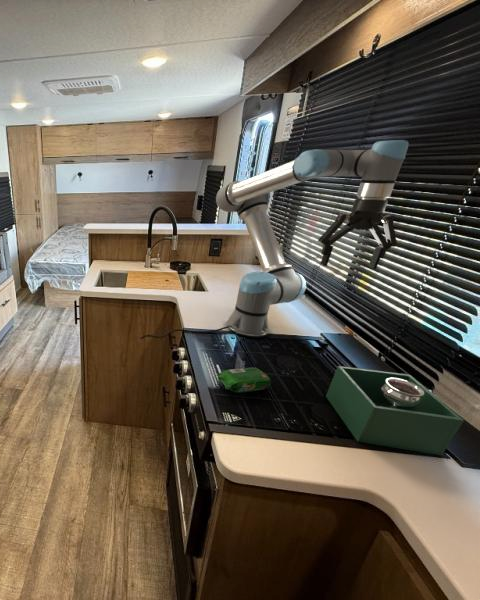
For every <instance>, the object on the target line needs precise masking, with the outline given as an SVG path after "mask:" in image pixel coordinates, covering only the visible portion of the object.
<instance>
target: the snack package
mask: <svg viewBox="0 0 480 600" xmlns="http://www.w3.org/2000/svg"><path fill="white" fill-rule="evenodd" d="M217 379H218V381H220V382H222V384H223V385H224V390H226V391H231V392H233V393H240V394H241V393H249V392H256V391H263V390H265V389H267V388H269V387H270V386H271V384H272V380H271V378H270V377H269V376H268V374H266V373H265V372H263V371H262V370H260V369H259V368H257V367H254V366H253V367H243V368H231V369H226V370H224V371H222V372H220V373H219V375H217Z"/></svg>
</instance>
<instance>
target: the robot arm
mask: <svg viewBox="0 0 480 600" xmlns="http://www.w3.org/2000/svg"><path fill="white" fill-rule="evenodd" d="M409 145H410V144H409V141H408V140H405V139H394V140H393V139H391V140H380V141H376V142H374V143H373V145H372V147H371V148H370V149H368V148H367V149H320V148H319V149H317V148H315V149H309V150H305V151H303V152H301V153H300V154H299V155H298V156H297V157H296V158H295V159H293V160H291V161H288V162H286V163H283V164H281V165H279V166H276V167H273V168H271V169H268V170H266V171H263V172H261V173H258V174H255V175H254V176H251V177H248V178H246V179H244V180H242V181H240V180H235V181H232V182H229V183H227V184H225V185H223V186H222V187H221V188H220V189H218V191H217V193H216V196H215V203H216V205H217V207H218V208H219V209H220V210H221V211H223V212H227V213H236V214H237V216H238V219H239V220H241V221H244V224H245V227H246V229H247V232H248V235H249V238H250V239H251V243H252V246H253V248H254V251H255V255H256V254H257V256H256V257H257V259H258V262H259V264H260V267H261V270H263V271H262V272H259V271H251V272H249V273H246V274H244V275H243V276H242V278H241V281H240V283H239V287H238V292H237V297H236V303H235V307H234V310H233V311H232V313H230V316H229V317H228V319H227V321H226V326H224V327H220V328H218V329H212V330H190V329H182V328H179V329H178V328H176V329H172V330H169V331H168V332H167V333H165V334H162V335H154V334H144V335H142V336H141V337H140V338H139V339H140V340H143V339H144V338H147V337H148V338H149V337H150V338H156V339H161V338H165V337H166V336H168V335H169V334H171V333H174V332H186V333H191V334H208V333H214V332H215V333H216V332H219V331H223V330H226V329H228V330H229V331H231V332H232V333H233V334H235V335H239V336H241V337H245V338H249V339H261V338H265V337H267V336H268V334H269V329H270V327H269V319H268V313H269V310H270V306H272V305H278V304H286V303H287V304H288V303H291V302H294V301H297V300H299V299H300V298H302V297H303V295H304V294H305V292H306V289H307V283H306V279H305V277H304V276H303V275H302V274H300V273H299V272H295V270H294V268H293V265H292V264H288V263H287V262H286V260H285V257H283V256H284V254H282V253H283V251H282V252H281V249H280V247H279V245H280V243H279V242H278V239H277V237H276V234H275V232H274V229H273V226H272V223H271V221H270V219H269V216H268V214H267V212H268V209H269V203H270V199H271V193H272V192H276V191H278V190H282V189H284V188H287V187H291V186H293V185H296V184H299V183H300V184H301V183H303V182H306V181H309V180H312V179H315V178H322V177H323V178H324V177H361V181H360V184H359V186H358V189H357V193H356V197H357V198H355V199H354V201H353V204H352V208H351V210H350V211H351V212H350V214H344V213H338V214H337V216H336V218H335V220H334V221H333V223H331V225H330V226H329V227H327V229H326V230H325V231H324V233H322V235H321V236H320V237H319V238H318V239H317V242H318V243H320V244H321V245H323V246H322V249H321V252H320V254H321V255H322V258H321V261H320V264H321V265H322V266H324V267H328V265H329V261H330V258H331V255H332V252H333V250H334V246H333V244H334V243H336V242H337V241H339V240H340V239H342V238H343V237H344V236H346V235H347V234H348V233H349V232H352V231H353V230H356V231H361V230H364V231H370V233H371V234H372V236H373V237H374V240H375V241H376V242H377V244H378V246H375V248H374V250H373V253H372V256H371V258H370V261H369V263H368V267H369V268H371V269H373V270H376V269H377V267H378V265H379V264H380V260H381V259H383V258H384V257H385V255H386V252H387V250H390V249H391V248H396V247H397V245H398V242H397V237H396V231H395V226H394V221H395V218H396V217H395V216H394V215H391V214H386V215H383V214H384V212H385V210H386V208H387V205H388V202H389V200H388V199H389V198H390V197H391V195H392V192H393V190H394V187H395V184H396V180H397V178H398V176H399V173H400V170H401V168H402V165H403V163H404V161H405V159H406V154H407V152H408V150H409V149H408V148H409ZM346 221H348V222H347V223H345V222H346ZM380 222H382V225H383V229H384V235H383V233H382V231H381V228H380V227H379V225H378V224H379V223H380ZM344 223H345V225H343V224H344ZM342 225H343V227H341V226H342ZM340 227H341V228H340ZM339 228H340V229H339ZM338 229H339V230H338Z"/></svg>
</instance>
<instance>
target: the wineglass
mask: <svg viewBox="0 0 480 600" xmlns="http://www.w3.org/2000/svg"><path fill="white" fill-rule="evenodd" d="M382 393H383V395H384V396H385V398H386V399H387V400H388V401H389V402H391V403H392V404H393V405H392V407H391V408H395V409H396V407H397V406H401V407H412V406H415V405H417V404H418V403H419V402H420V401H421V396H422V395H423V394H424V391H423V390H422V389H421V388H420V387H418V386H417V385H415V384H413V383H411V382H408V381H406V380H402V379H398V378H388V379H387V380H386V383H385V384H384V385H383V387H382Z"/></svg>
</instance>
